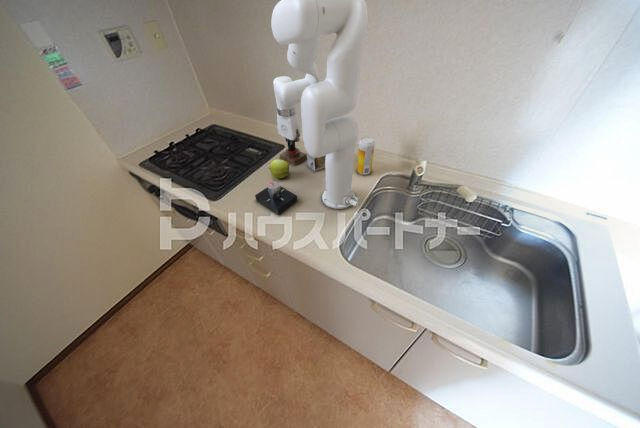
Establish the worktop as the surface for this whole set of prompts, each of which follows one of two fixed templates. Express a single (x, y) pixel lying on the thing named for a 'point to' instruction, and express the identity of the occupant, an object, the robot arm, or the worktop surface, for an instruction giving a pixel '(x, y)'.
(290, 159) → the switch block
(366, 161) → the beer can
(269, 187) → the tap knob
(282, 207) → the plate
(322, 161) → the coffee box
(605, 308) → the worktop surface
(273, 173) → the apple
